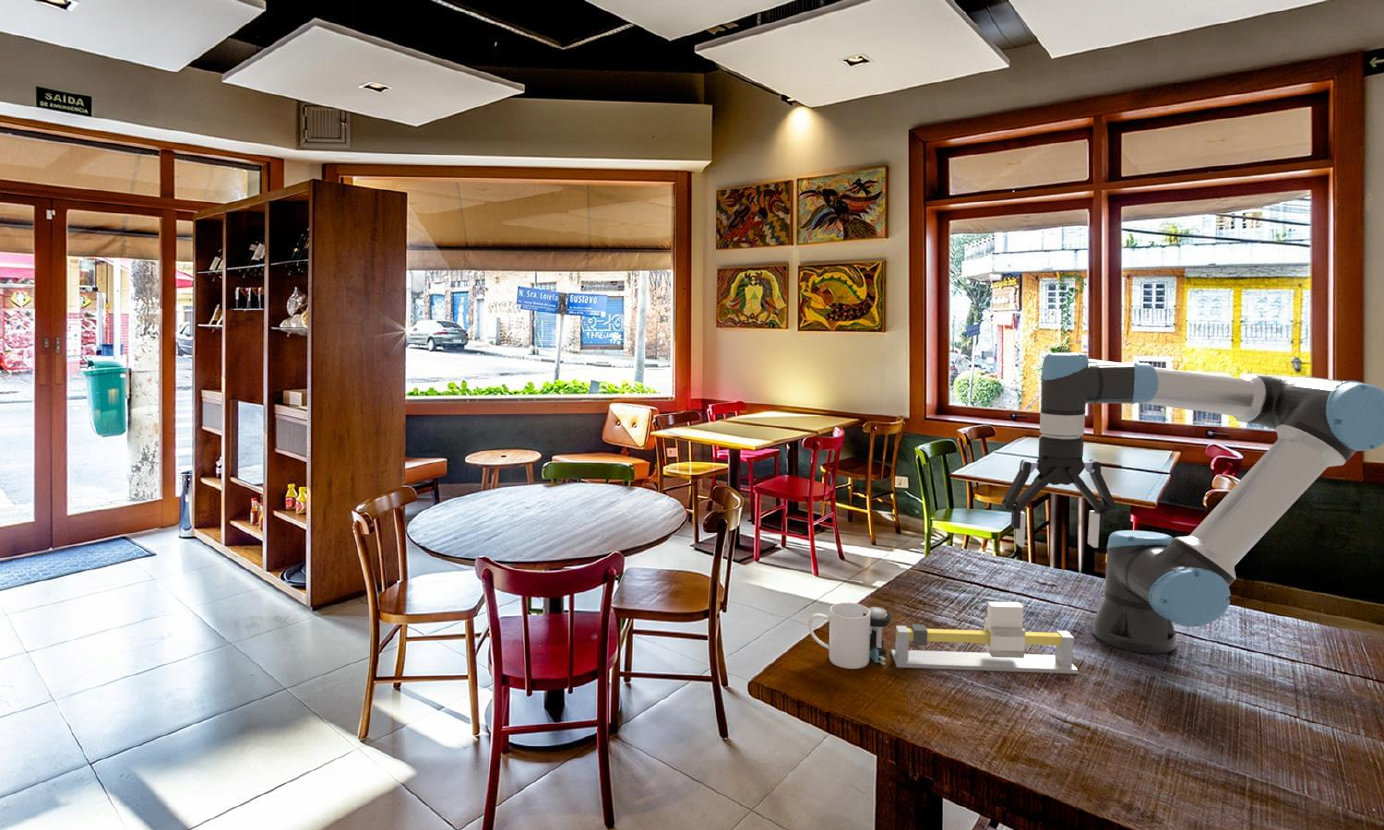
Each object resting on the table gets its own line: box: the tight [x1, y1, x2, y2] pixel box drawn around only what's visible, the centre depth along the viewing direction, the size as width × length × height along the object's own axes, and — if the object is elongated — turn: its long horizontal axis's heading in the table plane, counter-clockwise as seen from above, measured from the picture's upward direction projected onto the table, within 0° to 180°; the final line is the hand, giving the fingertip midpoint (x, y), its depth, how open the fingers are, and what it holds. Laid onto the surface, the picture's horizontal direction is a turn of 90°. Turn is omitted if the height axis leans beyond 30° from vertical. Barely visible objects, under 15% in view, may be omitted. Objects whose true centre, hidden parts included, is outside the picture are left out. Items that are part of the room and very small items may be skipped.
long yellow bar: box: [895, 623, 1062, 647], centre depth 146 cm, size 32×3×3 cm, turn 84°
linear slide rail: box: [890, 625, 1079, 675], centre depth 146 cm, size 34×6×7 cm, turn 84°
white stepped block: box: [982, 601, 1026, 658], centre depth 145 cm, size 6×6×10 cm
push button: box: [863, 606, 892, 666], centre depth 148 cm, size 7×5×10 cm
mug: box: [807, 602, 871, 670], centre depth 147 cm, size 12×8×10 cm, turn 92°
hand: (1056, 545), depth 142 cm, fingers open, 13 cm apart
